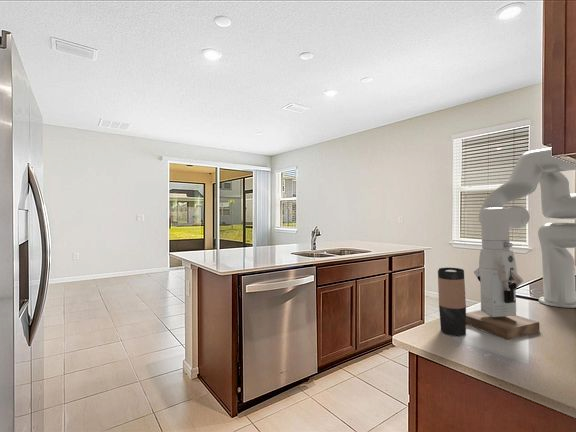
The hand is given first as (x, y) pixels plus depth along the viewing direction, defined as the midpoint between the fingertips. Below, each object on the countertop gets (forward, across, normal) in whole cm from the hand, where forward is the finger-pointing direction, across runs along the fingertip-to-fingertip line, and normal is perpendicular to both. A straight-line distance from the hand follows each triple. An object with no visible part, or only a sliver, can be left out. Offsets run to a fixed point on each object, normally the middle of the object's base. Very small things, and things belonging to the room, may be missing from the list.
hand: (497, 299), depth 103 cm
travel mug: (+9, +3, +16) cm, 19 cm away
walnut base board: (+9, 0, 0) cm, 9 cm away
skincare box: (+5, 0, 0) cm, 5 cm away
